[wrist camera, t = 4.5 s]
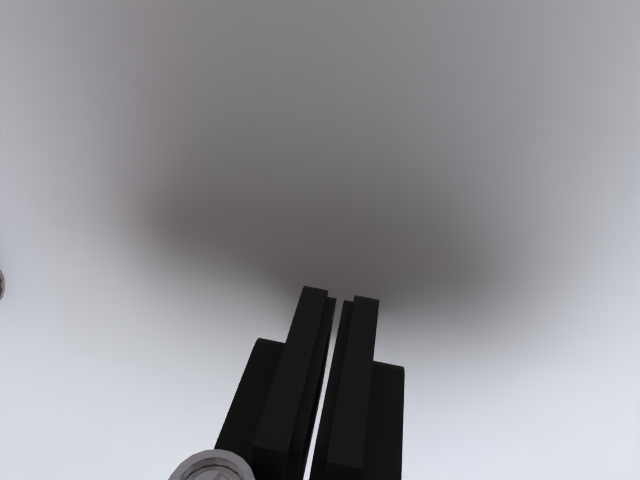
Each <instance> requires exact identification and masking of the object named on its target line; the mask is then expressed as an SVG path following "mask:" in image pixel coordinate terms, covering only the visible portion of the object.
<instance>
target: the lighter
mask: <svg viewBox="0 0 640 480" xmlns="http://www.w3.org/2000/svg"><path fill="white" fill-rule="evenodd" d="M4 290H5V286H4V278H3V276H2V274H1V272H0V300H1V299H2V296H3V293H4Z"/></svg>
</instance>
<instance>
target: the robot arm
mask: <svg viewBox="0 0 640 480" xmlns="http://www.w3.org/2000/svg"><path fill="white" fill-rule="evenodd" d="M327 296H328V290H324V289H318V288H313V287H308V286H304V287H303V289H302V293H301V296H300V299H299V302H298V305H297V308H296V311H295V315H294V318H293V321H292V324H291V327H290V330H289V333H288V337H287V340H286V343H282V342H277V341H272V340H267V339H262V338H258V339H257V341H256V343H255V345H254V347H253V350H252V352H251V355H250V358H249V360H248V363H247V365H246V368H245V370H244V373H243V375H242V378H241V381H240V383H239V386H238V388H237V391H236V393H235V396H234V399H233V401H232V404H231V406H230V409H229V411H228V414H227V416H226V419H225V422H224V424H223V427H222V429H221V432H220V434H219V437H218V439H217V442H216V445H215V447H214V450H205V451H202V452H199V453H196V454H193V455H192V456H190V457H189V458H187V459H186V460H184V461H183V462H182V463H181V464H180V465H179V466H178V467H177V468H176V470H175V471H174V472H173V473H172V475H171V476H170V478H169V479H168V480H303V477H304V472H305V467H306V463H307V458H308V453H309V448H310V444H311V439H312V434H313V429H314V424H315V420H316V415H317V410H318V405H319V400H320V395H321V390H322V385H323V379H324V373H325V367H326V361H327V354H328V348H329V342H330V336H331V330H332V323H333V317H334V311H335V305H336V298H330V297H327ZM378 308H379V300H376V299H371V298H366V297H360V296H355V297H354V302H351V301H346V300H344V303H343V308H342V313H341V318H340V323H339V328H338V333H337V338H336V343H335V348H334V353H333V358H332V363H331V368H330V373H329V378H328V383H327V388H326V393H325V399H324V404H323V409H322V414H321V419H320V424H319V429H318V434H317V439H316V444H315V449H314V455H313V460H312V466H311V472H310V478H309V480H401V473H402V441H403V410H404V378H405V373H404V367H402V366H397V365H392V364H387V363H382V362H377V361H373V355H374V346H375V336H376V327H377V317H378Z"/></svg>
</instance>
